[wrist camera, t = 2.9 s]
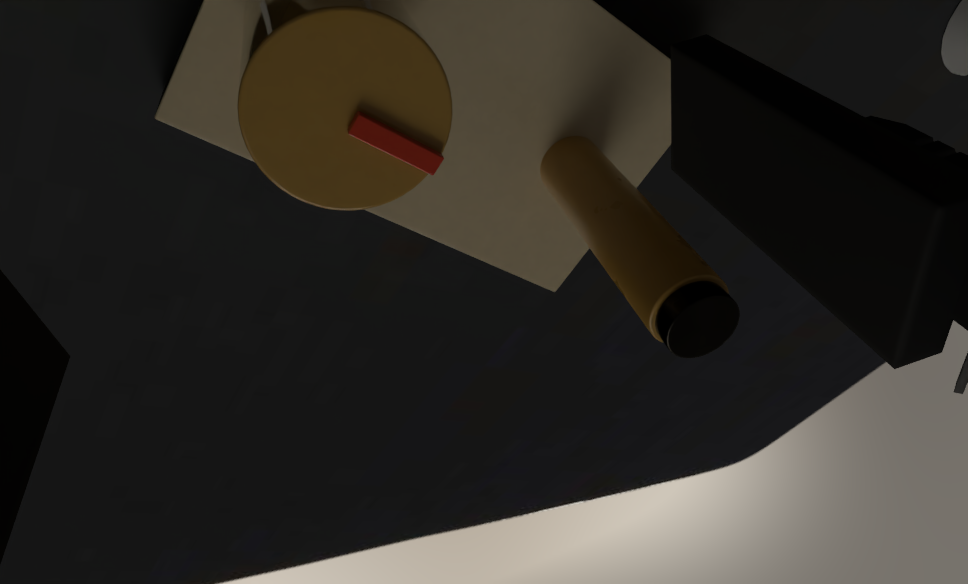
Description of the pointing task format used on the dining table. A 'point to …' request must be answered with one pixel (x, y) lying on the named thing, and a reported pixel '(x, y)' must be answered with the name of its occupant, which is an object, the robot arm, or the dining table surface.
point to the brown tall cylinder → (640, 250)
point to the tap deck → (480, 116)
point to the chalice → (957, 41)
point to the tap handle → (341, 100)
